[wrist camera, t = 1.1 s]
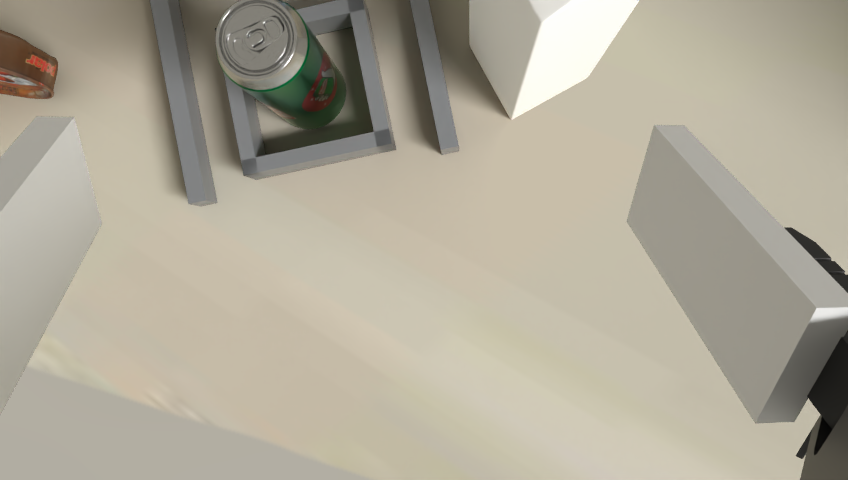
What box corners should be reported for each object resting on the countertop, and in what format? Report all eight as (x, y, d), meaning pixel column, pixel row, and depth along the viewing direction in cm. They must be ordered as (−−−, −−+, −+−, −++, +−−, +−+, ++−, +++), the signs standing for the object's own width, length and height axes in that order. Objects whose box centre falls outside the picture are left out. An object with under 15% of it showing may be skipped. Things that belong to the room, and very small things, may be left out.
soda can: (262, 83, 46) (189, 22, 34) (324, 44, 46) (272, -31, 34) (299, 144, 46) (238, 105, 34) (361, 106, 45) (322, 52, 33)
